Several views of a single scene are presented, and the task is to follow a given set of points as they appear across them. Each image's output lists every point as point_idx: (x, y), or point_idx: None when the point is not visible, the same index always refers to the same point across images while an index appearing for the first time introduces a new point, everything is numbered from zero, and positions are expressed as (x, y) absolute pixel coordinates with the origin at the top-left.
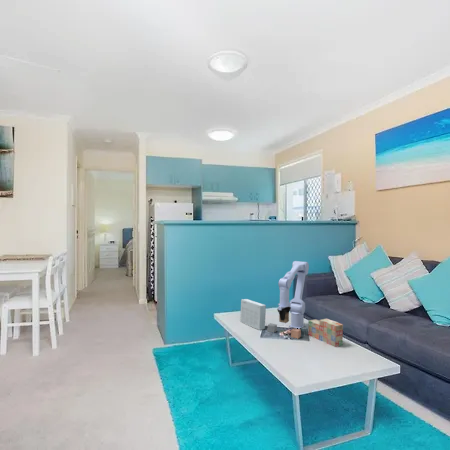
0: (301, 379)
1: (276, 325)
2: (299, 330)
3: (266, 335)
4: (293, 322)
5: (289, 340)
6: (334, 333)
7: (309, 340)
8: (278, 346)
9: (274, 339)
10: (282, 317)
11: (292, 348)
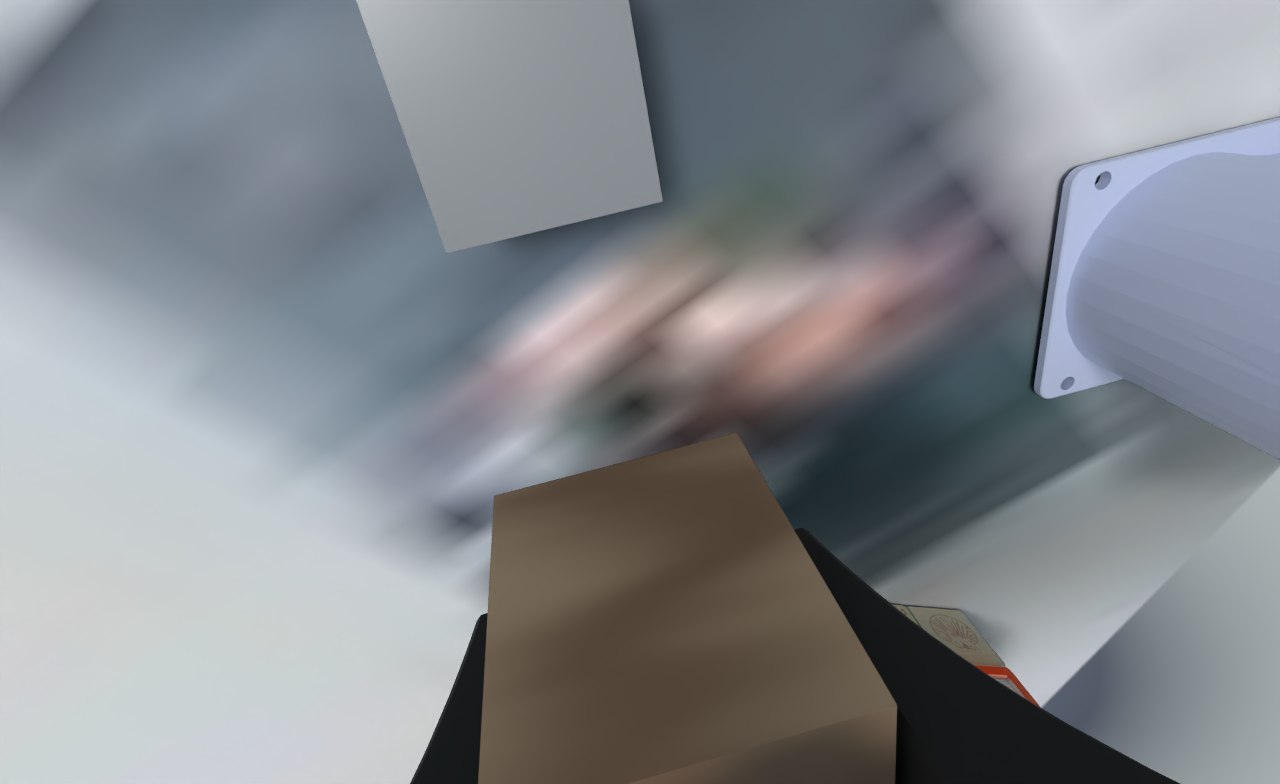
0: None
1: (627, 204)
2: None
3: (180, 181)
4: (1153, 302)
5: (425, 599)
6: None
7: None
8: (43, 668)
9: (198, 448)
10: None
11: (220, 774)
